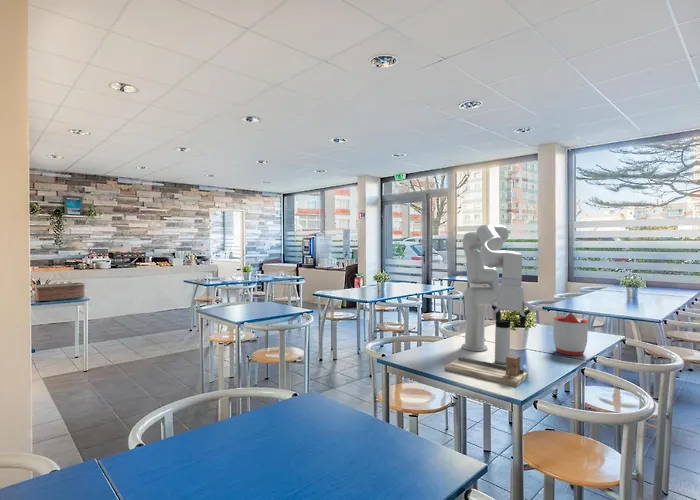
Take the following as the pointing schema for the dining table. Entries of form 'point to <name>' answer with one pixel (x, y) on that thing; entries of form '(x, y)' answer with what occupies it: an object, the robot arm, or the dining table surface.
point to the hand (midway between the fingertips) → (510, 323)
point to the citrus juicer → (570, 335)
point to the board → (485, 371)
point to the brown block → (513, 365)
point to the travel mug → (502, 341)
